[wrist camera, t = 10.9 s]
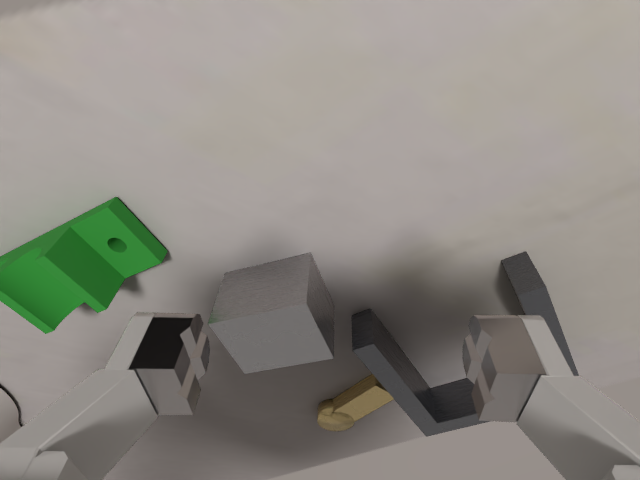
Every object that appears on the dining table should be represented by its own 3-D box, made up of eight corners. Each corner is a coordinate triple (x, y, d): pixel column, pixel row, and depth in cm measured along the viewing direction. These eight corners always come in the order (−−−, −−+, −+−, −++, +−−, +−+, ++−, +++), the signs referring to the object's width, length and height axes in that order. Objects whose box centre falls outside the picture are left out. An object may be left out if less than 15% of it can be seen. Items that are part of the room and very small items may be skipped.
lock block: (255, 320, 30) (244, 373, 26) (225, 271, 27) (207, 324, 24) (334, 304, 29) (333, 358, 25) (310, 251, 26) (306, 303, 22)
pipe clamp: (82, 234, 20) (146, 293, 23) (114, 194, 23) (168, 250, 26) (-52, 303, 24) (16, 348, 26) (-9, 261, 27) (48, 305, 29)
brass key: (337, 422, 38) (337, 434, 37) (310, 409, 37) (310, 422, 36) (399, 385, 34) (400, 398, 33) (370, 370, 33) (371, 383, 32)
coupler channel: (420, 402, 35) (426, 436, 33) (351, 315, 29) (352, 350, 27) (568, 362, 31) (587, 398, 29) (526, 251, 25) (545, 286, 23)
